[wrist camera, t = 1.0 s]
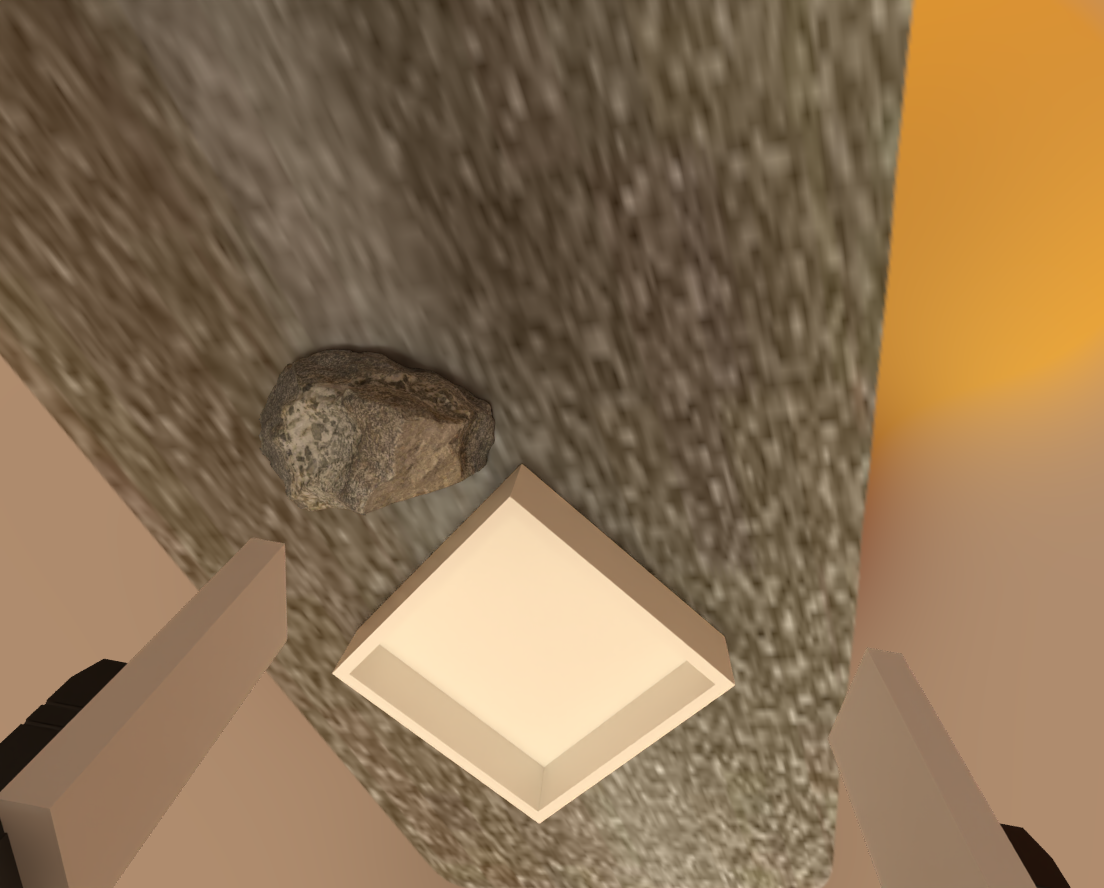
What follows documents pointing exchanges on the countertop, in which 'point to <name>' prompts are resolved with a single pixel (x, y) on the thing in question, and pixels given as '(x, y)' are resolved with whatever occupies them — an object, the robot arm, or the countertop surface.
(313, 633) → the countertop surface
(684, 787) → the countertop surface
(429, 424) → the rock
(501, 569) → the dish
